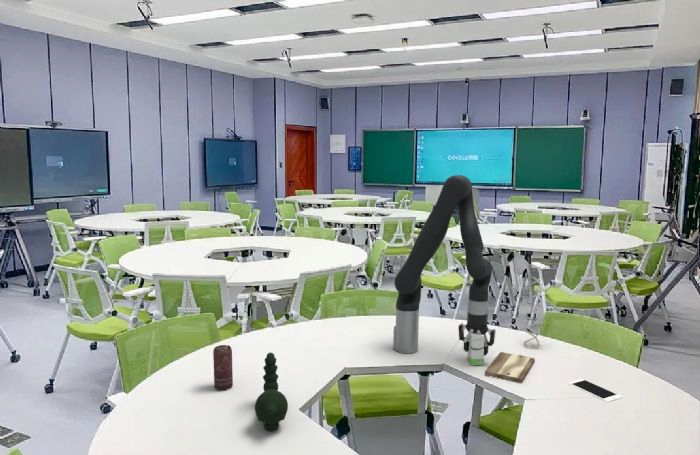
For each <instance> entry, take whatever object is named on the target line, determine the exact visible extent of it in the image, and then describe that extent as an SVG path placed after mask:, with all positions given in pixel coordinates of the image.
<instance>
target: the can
mask: <svg viewBox="0 0 700 455" xmlns="http://www.w3.org/2000/svg"><path fill="white" fill-rule="evenodd" d="M212 355H213V357H212V358H213V360H212V361H213V386H214V389H215V388H216V389H218V390H217V391H219V390H225V391H227V390H226V389H229V388H230V389H232V387H233V386H234V385H233V384H234V382H233V381H234V380H233V377H234V376H233V375H234V374H233V349H232V347H231V345H228V344H226V345H225V344H222V345H216V346H215V347H214V348H213V351H212ZM230 389H229V390H230Z"/></svg>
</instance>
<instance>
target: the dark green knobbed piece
mask: <svg viewBox="0 0 700 455" xmlns="http://www.w3.org/2000/svg"><path fill="white" fill-rule="evenodd" d="M264 363H265V365H264V366H263V368H262V369H263V370H264V373H265V374H264V375H263V377H262V379H263V380H264V383H263V392H262V393H260V395H259V396H258V397H257V399H256V401H255V404H254V413H255V415H256V417H257V420H258V421H259V422H261V423H264V424H263V428H264V429H265V431H269V432H274V431H276V430H279V428H280V422H281V421H285V419H286V416H287V413H288V409H289V402H288V400H287V398H286V397H287V396H285V394H283V393H282V392H281V391H280V390H279V383H278V378H279V375H278V374H277V370H278V368H279V367H278V365H276V364H277V357H275V354H274V352H268V353H267V354H266V356H265V358H264Z"/></svg>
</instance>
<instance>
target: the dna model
mask: <svg viewBox="0 0 700 455" xmlns="http://www.w3.org/2000/svg"><path fill="white" fill-rule="evenodd" d="M529 276H530V277H531V278H532V279H534V280H535V281H533V282H531V283H530V284H528V285H527V290H529V291H530V292H531V294H534V295H532V296H531V297H530V298H527V299H526V300H525V301H526V303H527V304H528V305H529V306H530V307H532V308H533V310H531V311H529V312H526V313H525V317H526V318H527V319H528V320H529V321H531V322H533V323H532V324H531V325H528V326H526V327H525V328H524V330H525V332H527V333H528V334H529V335H530V336H532V337H531V338H530V339H527V340H525V341H524V342H523V344H524V345H525V346H526V345H527V343H528V342H531V341H532V340H534V339H535V340H536V342H537V346H536V349H539V347H540V341H539V339H538V336H539V335H540V333H541V328H540V325H539V324H538V323H539V322H540V321H541V318H542V314H541V312H540V311H539V309H540V308H541V306H542V304H543V302H542V298H541V297H540V296H539V295H540V294H541V293H542V292H543V290H544V289H543V288H544V287H543V284H542V283H541V282H540V280H542V278H543V277H539V278H538V279H537V278H536V277H534V276H532V275H531V274H529ZM536 283H538V284H539V285H540V291H539V290H536V289H531V288H530V286H532V285H534V284H536ZM534 291H535V292H534ZM537 292H538V293H537ZM536 297H537V298H538V299H539V301H540V302H539V305H537V304H535V305H534V304H533V303H530V302H529V301H530V300H532V299H534V298H536ZM535 306H536V307H535ZM535 311H536V312H537V313H538V315H539V317H538V319H537V318H533V317H530V316H528V315H529V314H531V313H534V312H535ZM533 326H537V328H538V332H537V333H534V332H531V331H529V330H528V329H529V328H532V327H533Z"/></svg>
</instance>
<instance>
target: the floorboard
mask: <svg viewBox="0 0 700 455" xmlns="http://www.w3.org/2000/svg"><path fill="white" fill-rule="evenodd" d="M535 360H536V359H535V358H534V357H531V356H527V355H521V354H516V353H509V352H508V353H507V352H502V351H500V352H499V353H498V354H497V356H495V358H494V359H493V360H492V362H491V363H490V364H489V365H488V367H487V368H486V369H485V370H484V376H486V377H490V376H492V377H491V378H495V377H497V378H496V379H499V378H501V379H500V380H504V379H505V381H509V380H510V381H509V382H514V383H518V384H522V383H523V382H524V381H525V379H526V377H527V375H528V373H529V371H530V370H531V369H532V367H533V366H534V364H535Z"/></svg>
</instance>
